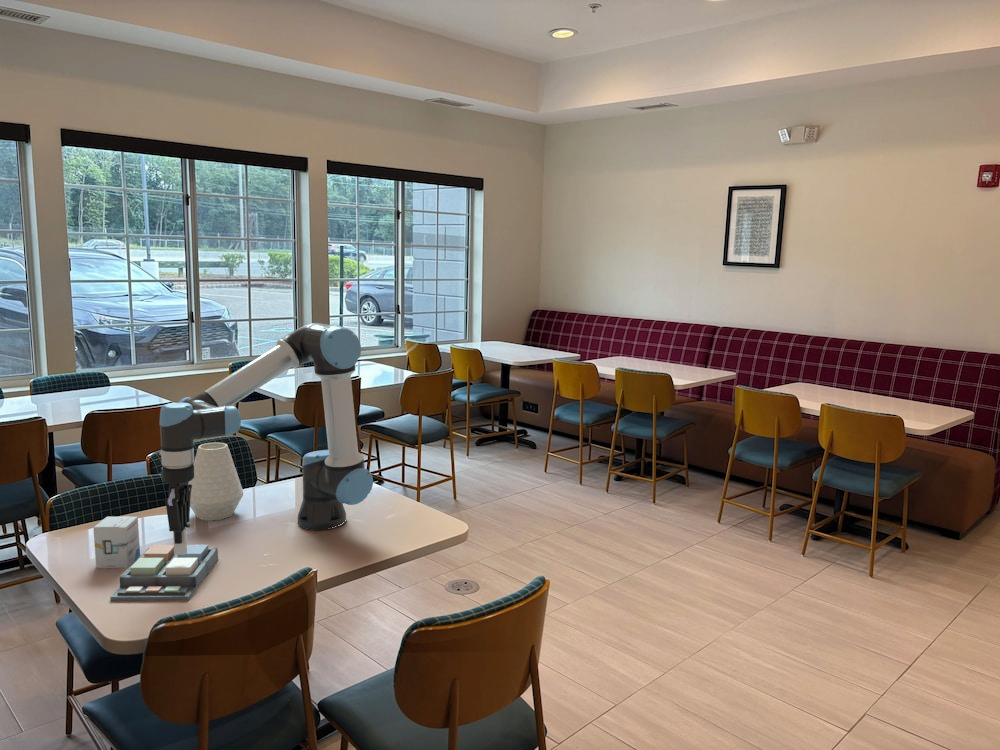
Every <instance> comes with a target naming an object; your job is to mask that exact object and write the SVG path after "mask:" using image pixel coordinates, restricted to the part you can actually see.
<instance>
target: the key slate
mask: <svg viewBox="0 0 1000 750" xmlns="http://www.w3.org/2000/svg"><path fill="white" fill-rule="evenodd" d="M208 548H209V544H187V553H186V554H185V555H178V558H198V561H203V560H204V558H205V557H206V556H207V555H208Z"/></svg>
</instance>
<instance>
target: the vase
mask: <svg viewBox="0 0 1000 750" xmlns="http://www.w3.org/2000/svg"><path fill="white" fill-rule="evenodd" d="M193 465H194V478H193V479H192V480H191V481H188V484H192V489H191V498H190V510H192V512H193V513H194V514H195V517H196V518H197V519H198V520H201V521H207V522H208V521H209V522H213V521H212V520H216V521H221V520H220V519H222V520H225V519H224V518H226V519H228V518H230V517H232V516H233V515H234V513H235V511H236V509H237V508H238V506H239V503H240V502H241V500H242V499H243V496H244V490H243V487H242V484H241V480H240V478H239V476H238V475H239V474H238V472H237V469H236V467H235V463H234V460H233V458H232V454H231V451H230V448H229V446H228V444H227V443H225V442H208V443H206V442H205V443H202V444H200V445H198V447H197V450H196V454H195V456H194V462H193ZM231 515H232V516H231ZM229 516H230V517H229ZM227 517H228V518H227Z"/></svg>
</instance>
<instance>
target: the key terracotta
mask: <svg viewBox="0 0 1000 750" xmlns="http://www.w3.org/2000/svg"><path fill="white" fill-rule="evenodd" d="M148 548H149V549H148ZM148 548H147V549H148V550H147V549H146V550H147V551H146V550H145V551H146V552H145V551H144V552H145V553H144V552H143V553H144V558H164V561H170V560H171V558H172V557H173V556H174V544H152V545H150V547H148Z"/></svg>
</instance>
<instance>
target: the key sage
mask: <svg viewBox="0 0 1000 750" xmlns="http://www.w3.org/2000/svg"><path fill="white" fill-rule="evenodd" d="M138 558H139V557H138ZM138 558H137V559H138ZM137 559H136V560H137ZM136 560H135V561H136ZM135 561H134V562H135ZM134 562H133V563H134ZM133 563H132V564H133ZM132 564H131V565H132ZM131 565H130V566H131ZM130 566H129V567H130ZM163 568H164V558H139V559H138V560H137V561H136V562H135V563H134V564H133V565H132V566H131V567H130V573H131V575H157V574H158V573H159V572H160V571H161V570H162V569H163Z"/></svg>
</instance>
